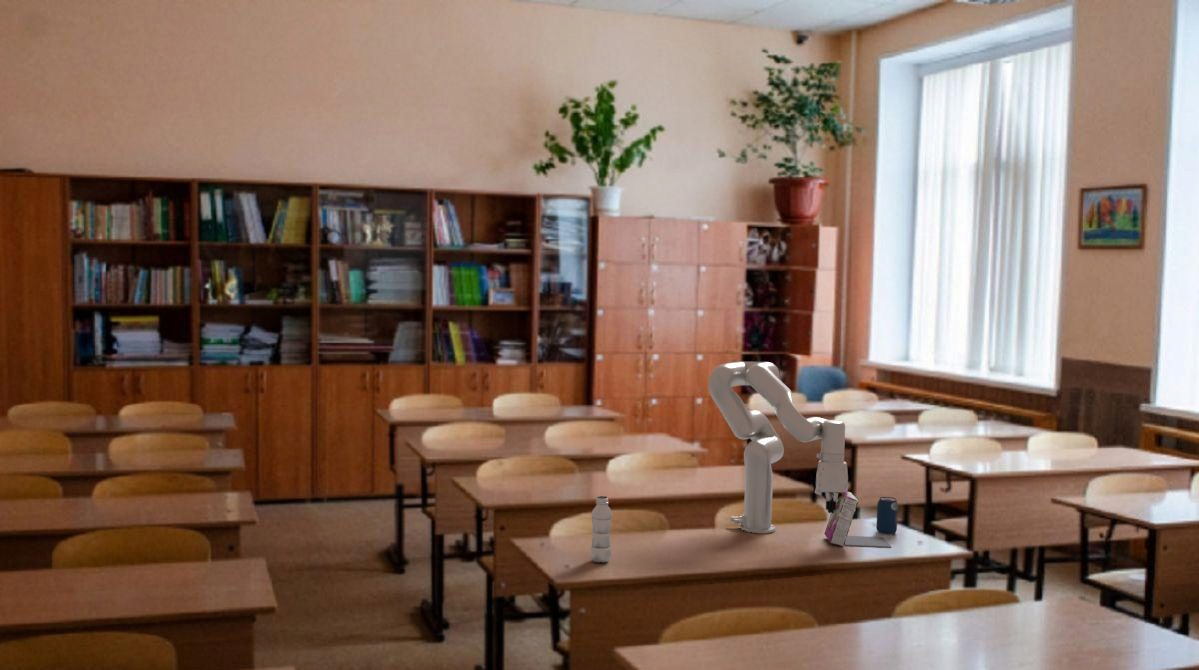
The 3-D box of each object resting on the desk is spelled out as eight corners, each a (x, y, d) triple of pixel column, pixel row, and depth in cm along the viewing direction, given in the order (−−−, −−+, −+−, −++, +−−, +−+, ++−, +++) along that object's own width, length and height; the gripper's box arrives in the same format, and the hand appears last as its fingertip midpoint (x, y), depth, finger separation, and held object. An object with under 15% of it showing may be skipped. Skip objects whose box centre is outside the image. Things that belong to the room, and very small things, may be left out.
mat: (845, 545, 353) (845, 544, 353) (839, 536, 365) (839, 535, 365) (891, 547, 353) (891, 546, 352) (883, 538, 364) (883, 537, 364)
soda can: (900, 534, 369) (902, 500, 369) (882, 535, 368) (884, 501, 367) (889, 529, 376) (891, 496, 375) (872, 530, 374) (874, 496, 373)
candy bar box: (822, 533, 363) (838, 488, 361) (837, 538, 363) (852, 492, 361) (829, 542, 351) (845, 496, 350) (843, 547, 351) (859, 500, 350)
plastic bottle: (585, 562, 326) (587, 498, 324) (596, 557, 332) (598, 493, 330) (604, 566, 323) (606, 501, 321) (614, 560, 329) (616, 496, 327)
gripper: (811, 459, 352) (809, 514, 353) (857, 460, 351) (855, 515, 352) (808, 454, 359) (806, 508, 360) (853, 456, 358) (851, 510, 359)
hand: (830, 511), depth 356 cm, fingers closed
